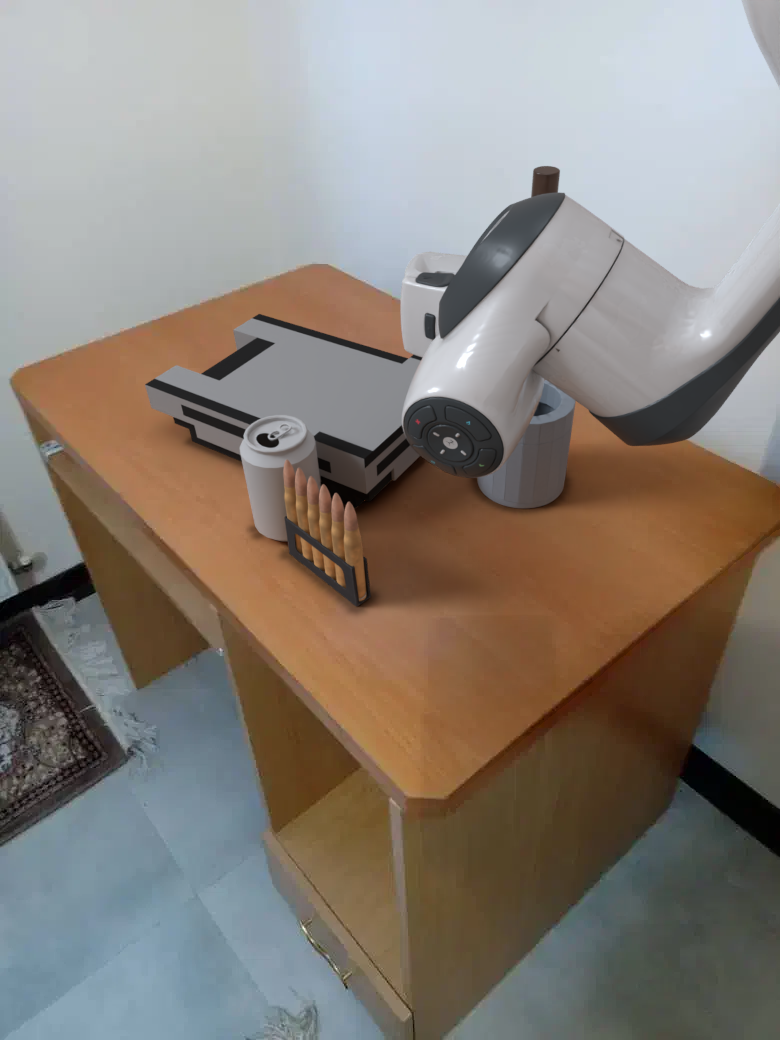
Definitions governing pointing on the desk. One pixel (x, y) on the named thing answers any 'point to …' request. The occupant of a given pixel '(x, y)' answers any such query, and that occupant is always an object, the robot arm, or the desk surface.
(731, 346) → the robot arm
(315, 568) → the ammunition clip
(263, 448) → the can
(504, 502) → the hollow cylinder
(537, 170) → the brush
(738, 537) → the desk surface
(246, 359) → the game console
